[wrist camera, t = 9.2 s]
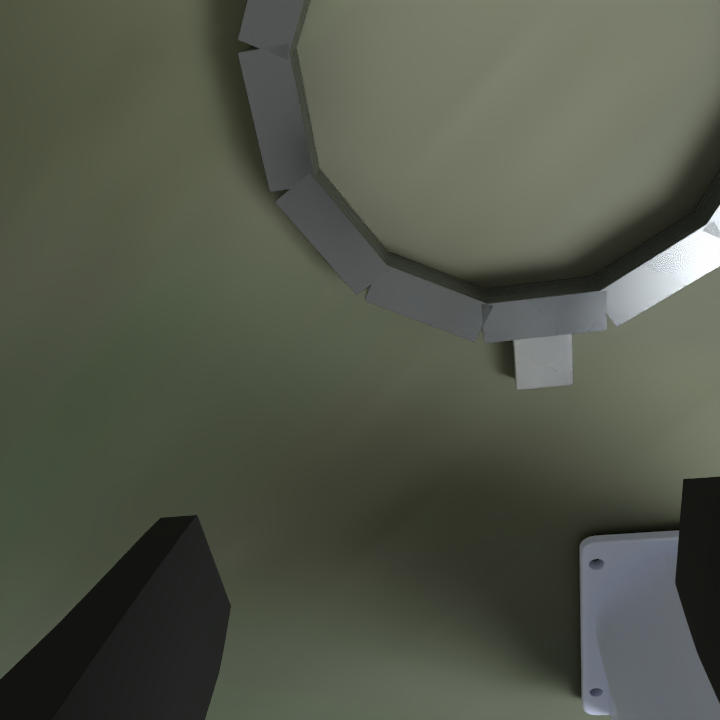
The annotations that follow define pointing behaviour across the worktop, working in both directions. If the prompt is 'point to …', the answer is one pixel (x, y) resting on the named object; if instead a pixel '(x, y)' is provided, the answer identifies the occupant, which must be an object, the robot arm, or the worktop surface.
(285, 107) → the collar
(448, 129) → the worktop surface
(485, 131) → the worktop surface
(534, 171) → the worktop surface
